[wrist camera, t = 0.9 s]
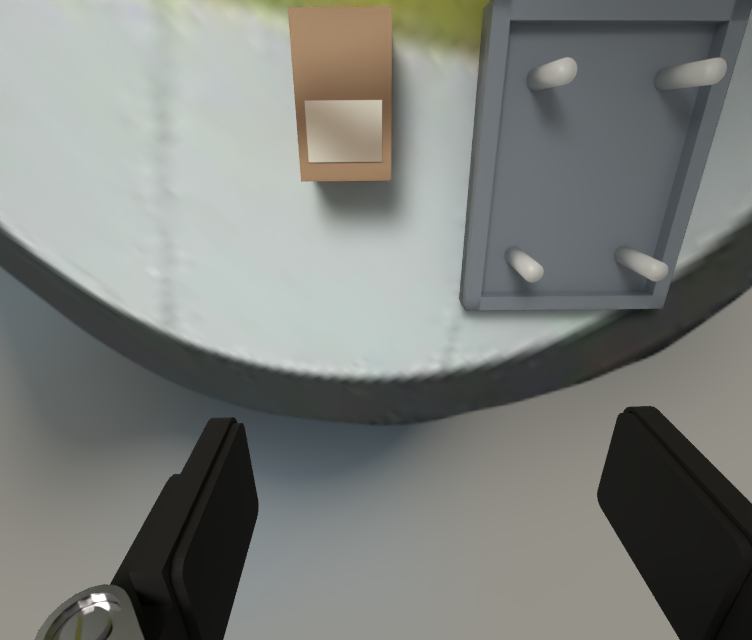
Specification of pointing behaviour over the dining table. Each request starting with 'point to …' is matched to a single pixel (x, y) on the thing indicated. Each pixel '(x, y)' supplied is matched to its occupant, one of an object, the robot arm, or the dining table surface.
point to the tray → (591, 147)
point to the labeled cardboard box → (343, 91)
